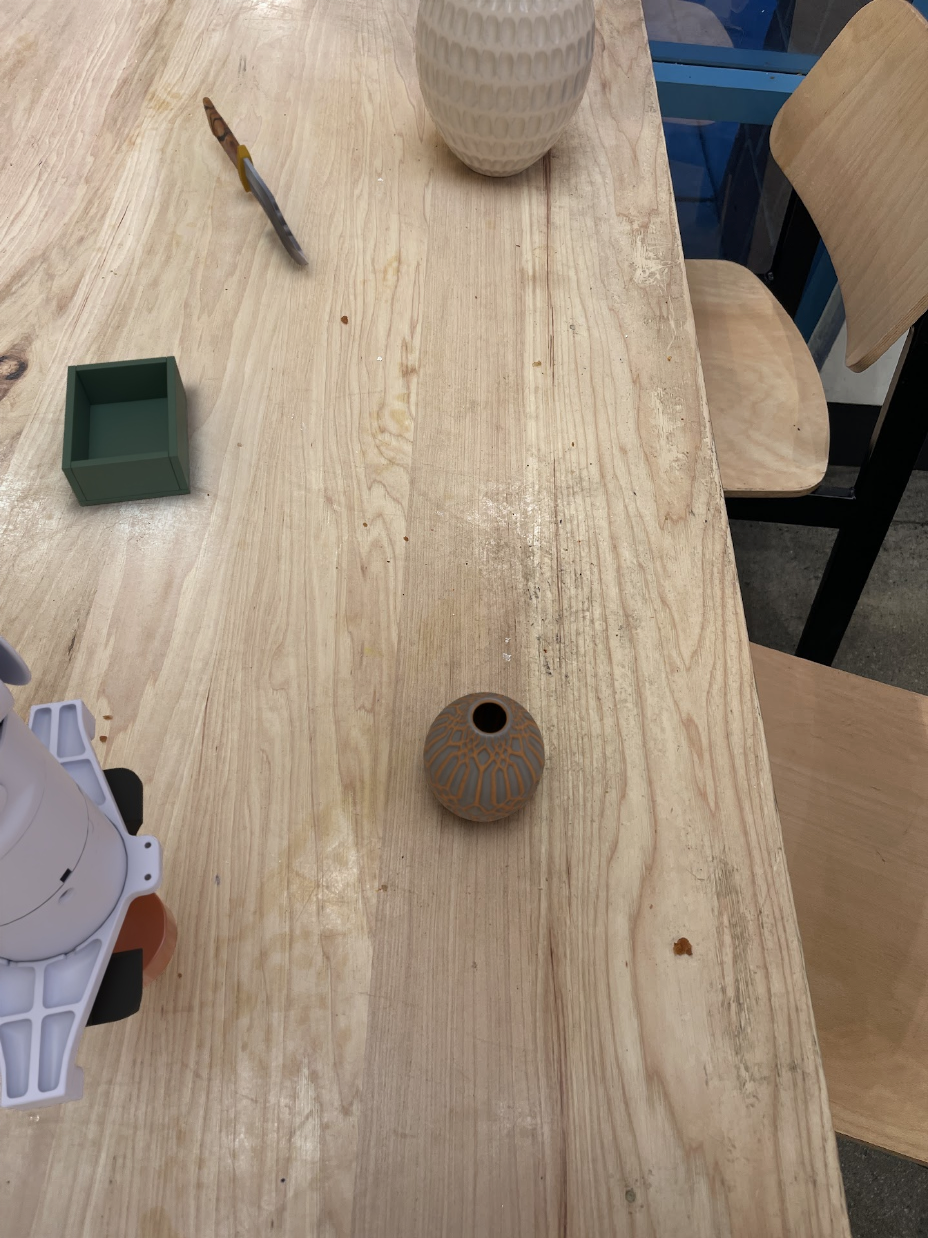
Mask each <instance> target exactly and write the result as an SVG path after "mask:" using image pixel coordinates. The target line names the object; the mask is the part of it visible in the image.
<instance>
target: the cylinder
mask: <svg viewBox="0 0 928 1238" xmlns="http://www.w3.org/2000/svg"><path fill="white" fill-rule="evenodd" d="M178 933H179V932H178V924H177V920H176V919H175V915H174V913H173V912H172V910H171V908H169V906H168V905H167V903H166V902H165V901H164V900H163V899H162V897H160V896H159V895H158V894H157V893H156V892H154V893H151V894H148V895H143V896H139V897H136V898H135V899H134V900H133V901H132V902H131V903H130V905H129V907H128V910H127V913H126V916H125V918H124V921H123V924H122V927H121V929H120V932H119V935H118V938H117V940H116V943H115V946H114V949H113V951H112V953H117V952H122V951H128V950H133V949H139V948H142V949H143V989H145V988H147V987H148V986H150V985H151V984H152V983H154V982H155V981H156V980H157V979H158V978H160V976H161V975H162V974H163V973H164V972H165V970H166V969H167V968H168V967H169V965H170V963H171V961H172V959H173V957H174V954H175V951H176V948H177V943H178Z"/></svg>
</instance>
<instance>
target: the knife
mask: <svg viewBox="0 0 928 1238" xmlns="http://www.w3.org/2000/svg"><path fill="white" fill-rule="evenodd" d="M202 105H203V109H204V112H205V116H206V119H207V123H208V127H209V130H210V131H211V134H212V135H213V136H214V137H215V139H216V140H217V141H218V143H219V144H220V146H221V147H222V149H223V151H224V152H225V154H226V155H227V157H228V159H229V160H230V162H231V163H232V165H233V166H234V167H235V169H236V170H237V174H238V177H239V181H240V183H241V185H242V187H243V190H244V192H245V193H246V194H247V193H252V194H253V196H254V197H255V198H256V200H257V202H258V203H259V205H260V206H261V208H262V209H263V211H264V213H265V214H266V217H267V218H268V220H269V222H270V224H271V225H272V227H273V229H274V231H275V233H276V235H277V237H278V238H279V240H280V242H281V244H282V246H283V247H284V250H285V251H286V252H287V254H288V255H289V256H290V258H291V259H292V260H293V261H294V262H295V263H296V264H298V265H299V266H303V267H304V266H305V267H306V266H307V265H309V264H310V263H309V261H308V259H307V258H306V255H305V253H304V251H303V248H302V247H301V246H300V244H299V243H298V241H297V240H296V237H295V236H294V234H293V232H292V230H291V229H290V227H289V225H288V223H287V221H286V219H285V217H284V215H283V213H282V211H281V209H280V208H279V205H278V202H277V201H276V198H275V196H274V195H273V192H272V191H271V190H270V189H269V187H268V185H267V184H266V182H265V181H264V180H263V178H262V177H261V175H260V174H259V172H258V171H257V169H256V168H255V165H254V162H253V159H252V156H251V155H252V154H250V152H249V150H248V148H247V146H246V145H245V144H240V143H239V141H238V138H237V137H236V136H235V134H234V133H233V131H232V130H231V128H230V126H229V125H228V123H227V122H226V120H225V119H224V118H223V117H222V115H221V114H220V113H219V111H218V110H217V109H216V106H215V105H214V103H213V101H212V100H211V99H210V98H209V97H208V96H205V97H203V98H202Z"/></svg>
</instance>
